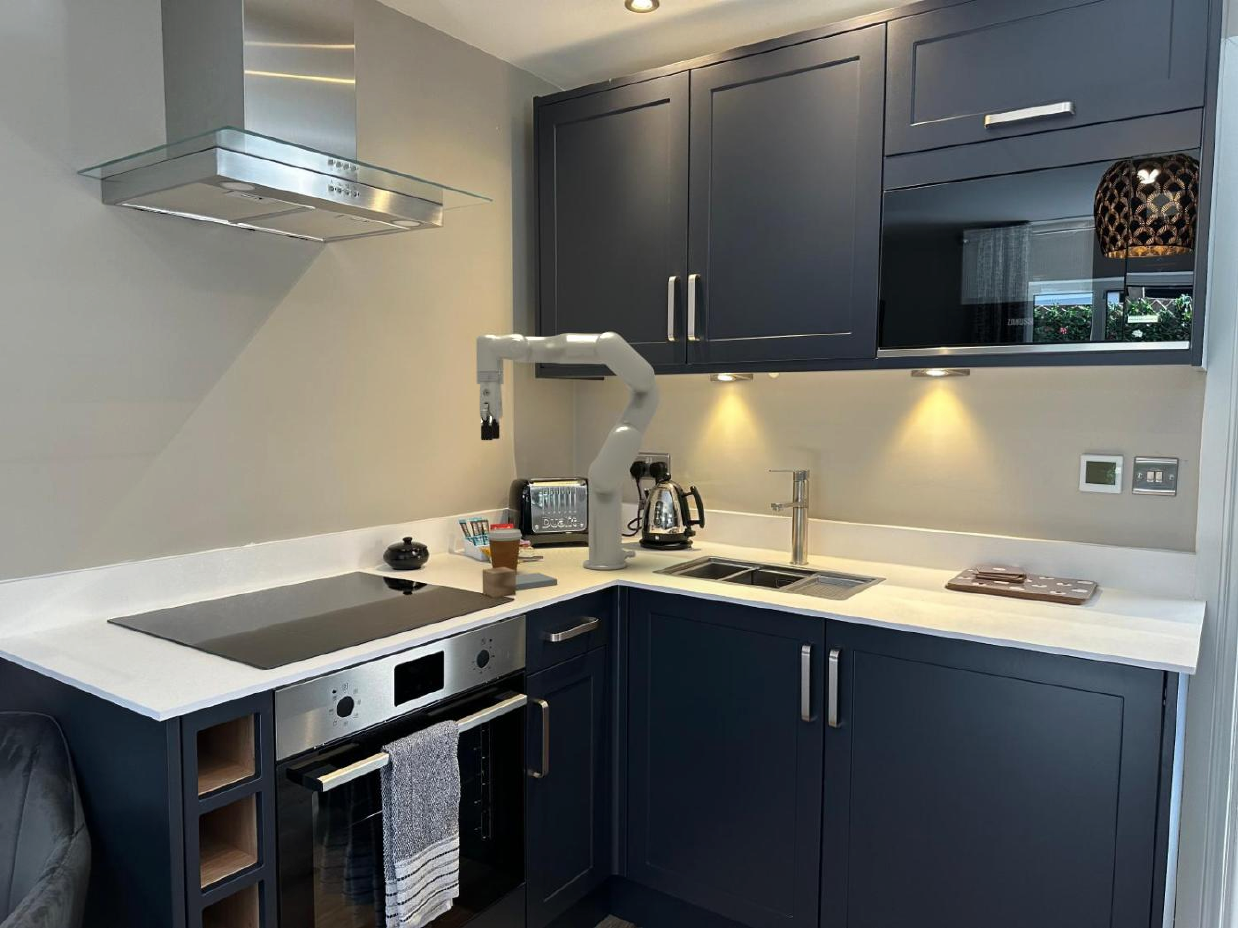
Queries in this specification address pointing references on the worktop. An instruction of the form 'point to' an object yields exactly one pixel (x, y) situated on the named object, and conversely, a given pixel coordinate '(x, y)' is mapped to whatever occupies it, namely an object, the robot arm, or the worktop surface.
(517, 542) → the disposable coffee cup
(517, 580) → the slate board
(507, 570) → the walnut cube
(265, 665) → the worktop surface
